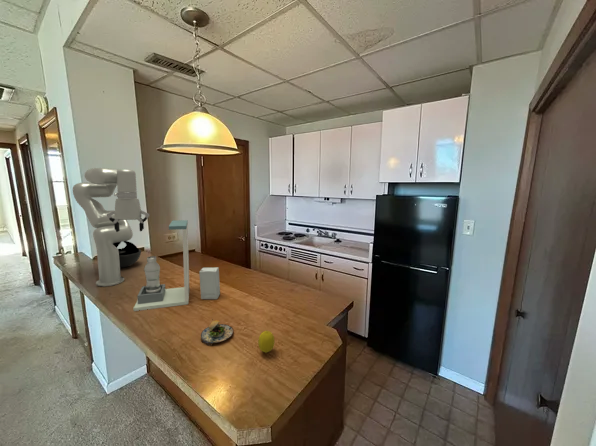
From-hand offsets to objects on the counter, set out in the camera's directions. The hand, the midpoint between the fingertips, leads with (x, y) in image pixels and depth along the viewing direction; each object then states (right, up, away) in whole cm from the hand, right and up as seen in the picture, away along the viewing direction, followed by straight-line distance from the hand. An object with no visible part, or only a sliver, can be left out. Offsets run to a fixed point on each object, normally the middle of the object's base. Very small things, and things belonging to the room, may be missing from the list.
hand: (129, 231), depth 121 cm
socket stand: (+17, -33, 0) cm, 37 cm away
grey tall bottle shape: (+13, -32, -2) cm, 35 cm away
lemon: (+71, -41, -35) cm, 89 cm away
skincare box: (+38, -34, +4) cm, 51 cm away
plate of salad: (+52, -39, -27) cm, 70 cm away
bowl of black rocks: (-33, -25, +43) cm, 60 cm away
